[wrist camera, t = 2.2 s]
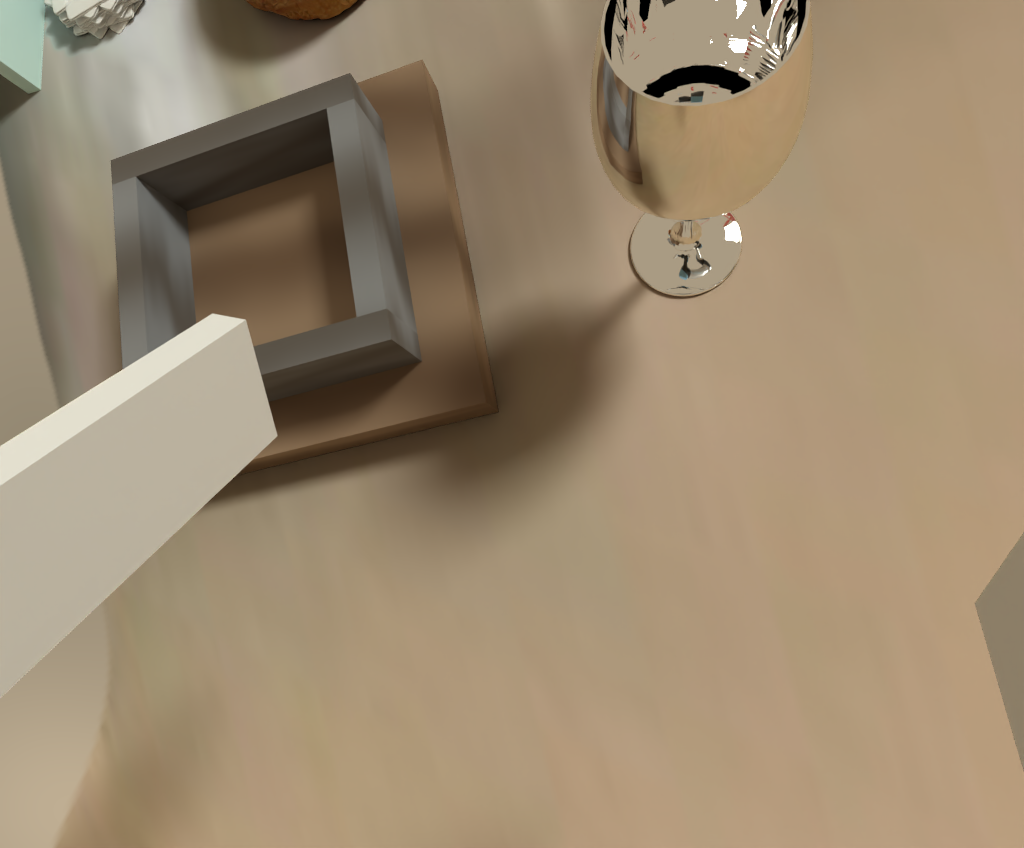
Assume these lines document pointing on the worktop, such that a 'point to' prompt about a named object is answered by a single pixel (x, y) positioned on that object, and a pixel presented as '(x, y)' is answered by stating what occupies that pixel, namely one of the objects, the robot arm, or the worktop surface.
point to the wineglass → (696, 122)
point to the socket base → (314, 259)
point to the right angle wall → (20, 31)
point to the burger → (303, 7)
